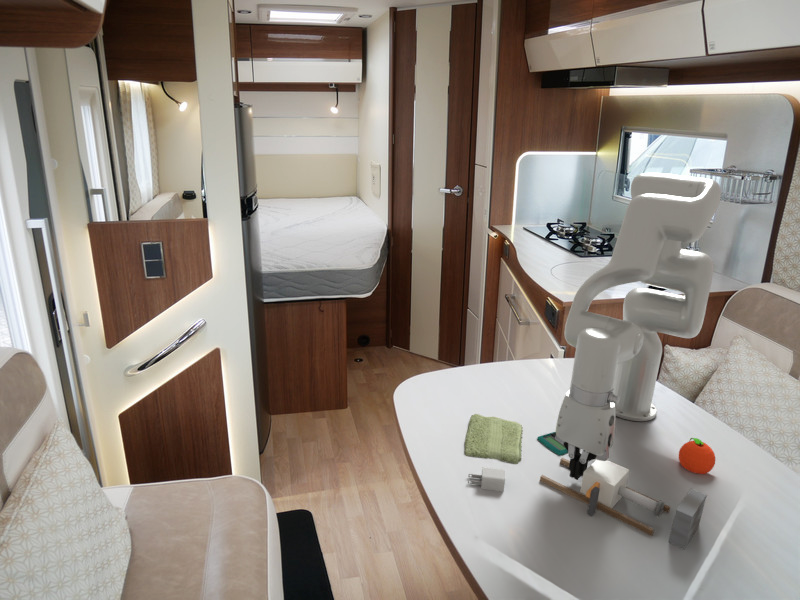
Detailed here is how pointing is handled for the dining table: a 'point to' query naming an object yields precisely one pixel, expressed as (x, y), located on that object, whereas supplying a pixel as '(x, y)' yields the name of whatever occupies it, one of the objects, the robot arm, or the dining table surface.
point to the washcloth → (494, 439)
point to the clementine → (697, 456)
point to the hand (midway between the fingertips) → (576, 475)
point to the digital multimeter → (552, 443)
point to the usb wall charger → (490, 479)
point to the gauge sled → (614, 486)
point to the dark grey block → (593, 501)
